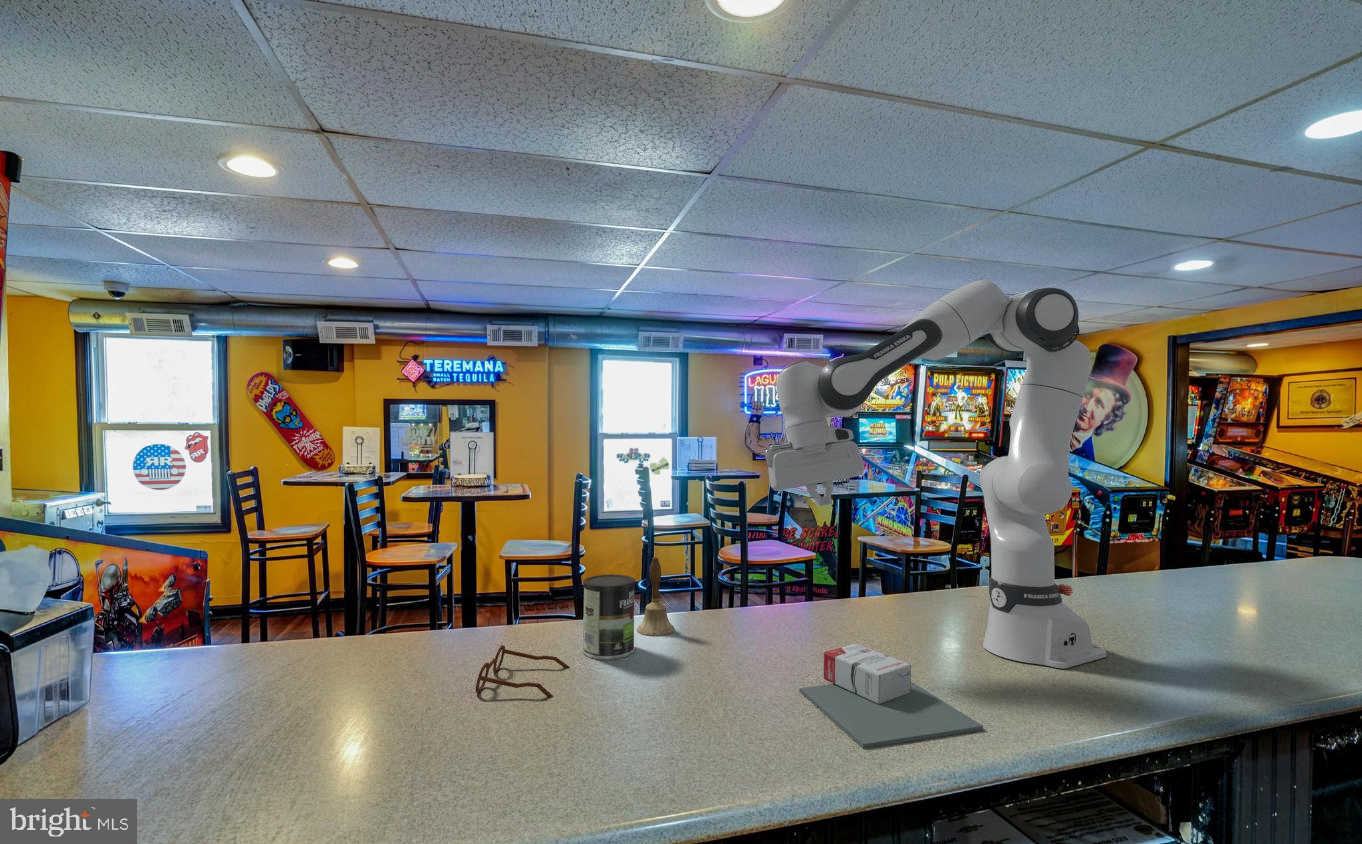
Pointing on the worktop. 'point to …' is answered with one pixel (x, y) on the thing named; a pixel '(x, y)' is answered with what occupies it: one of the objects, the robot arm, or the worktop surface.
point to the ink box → (867, 673)
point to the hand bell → (655, 608)
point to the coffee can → (608, 616)
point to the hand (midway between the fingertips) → (824, 505)
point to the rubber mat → (889, 715)
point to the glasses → (511, 684)
